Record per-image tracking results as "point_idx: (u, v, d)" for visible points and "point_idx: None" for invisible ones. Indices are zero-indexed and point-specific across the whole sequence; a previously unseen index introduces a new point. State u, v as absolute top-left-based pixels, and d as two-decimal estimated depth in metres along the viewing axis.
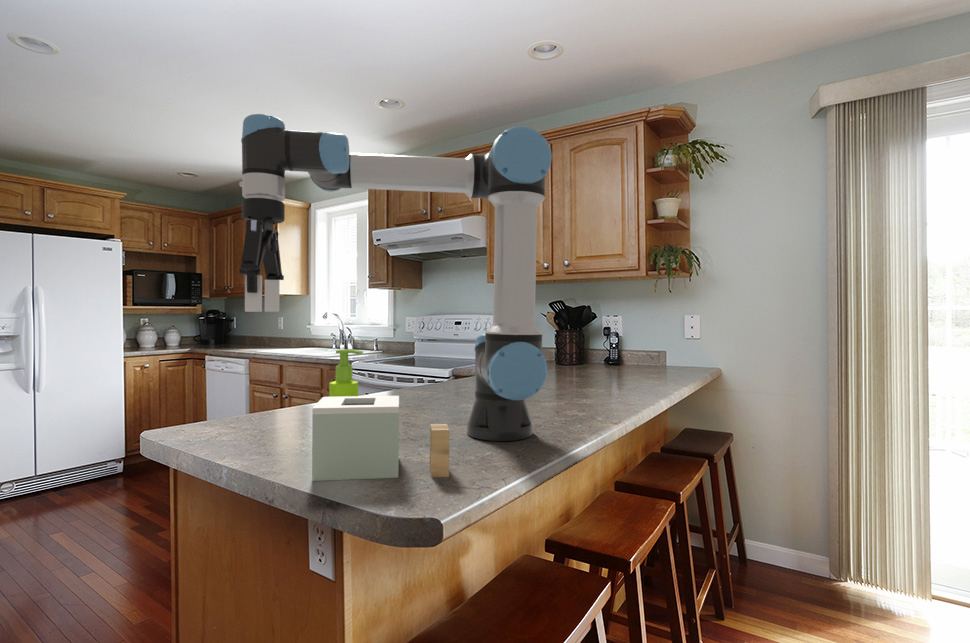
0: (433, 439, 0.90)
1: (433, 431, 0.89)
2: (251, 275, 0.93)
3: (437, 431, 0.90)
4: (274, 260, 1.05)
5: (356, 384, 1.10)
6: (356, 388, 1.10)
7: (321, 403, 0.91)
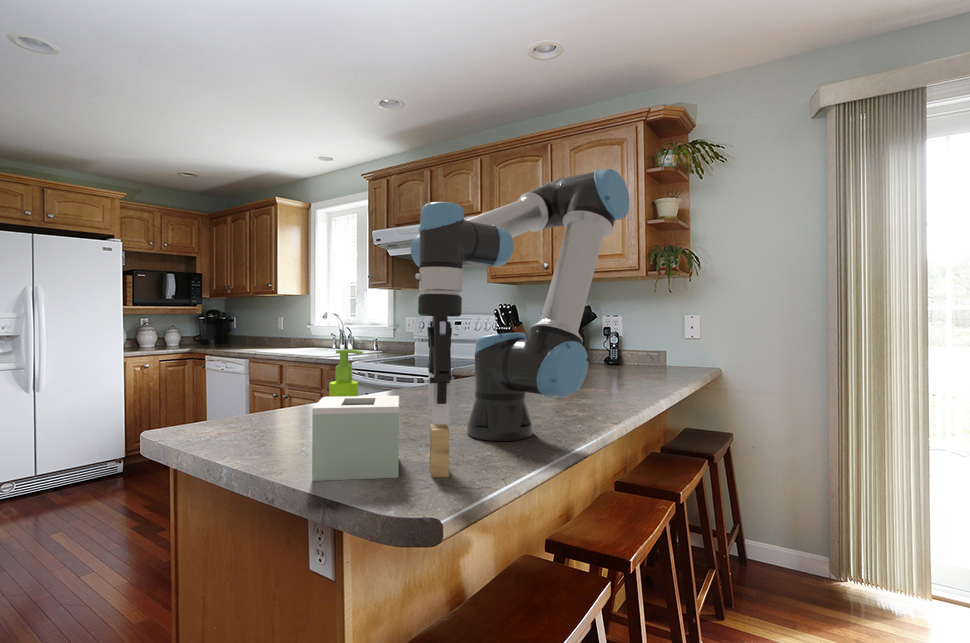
0: (433, 439, 0.90)
1: (433, 431, 0.89)
2: (442, 385, 0.84)
3: (437, 431, 0.90)
4: None
5: (356, 384, 1.10)
6: (356, 388, 1.10)
7: (321, 403, 0.91)
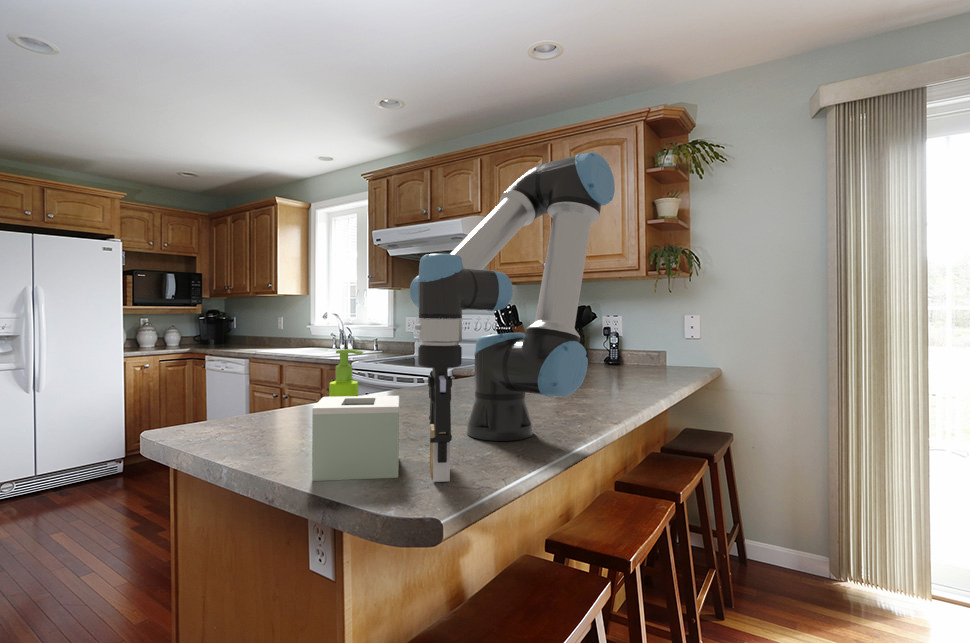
0: None
1: (433, 431, 0.89)
2: (442, 444, 0.85)
3: None
4: None
5: (356, 384, 1.10)
6: (356, 388, 1.10)
7: (321, 403, 0.91)
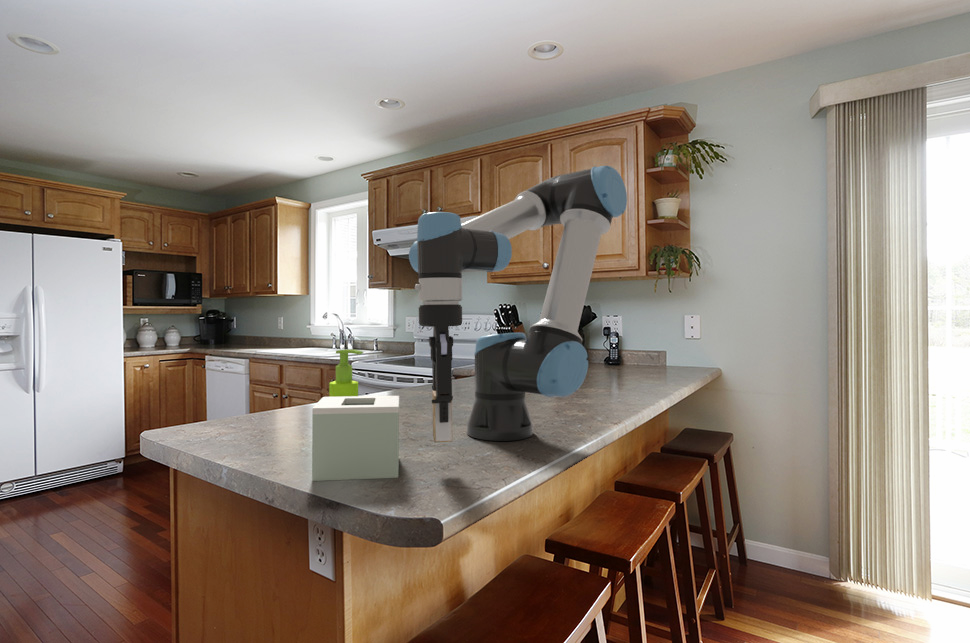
0: None
1: (435, 396, 0.90)
2: (444, 405, 0.88)
3: None
4: None
5: (356, 384, 1.10)
6: (356, 388, 1.10)
7: (321, 403, 0.91)
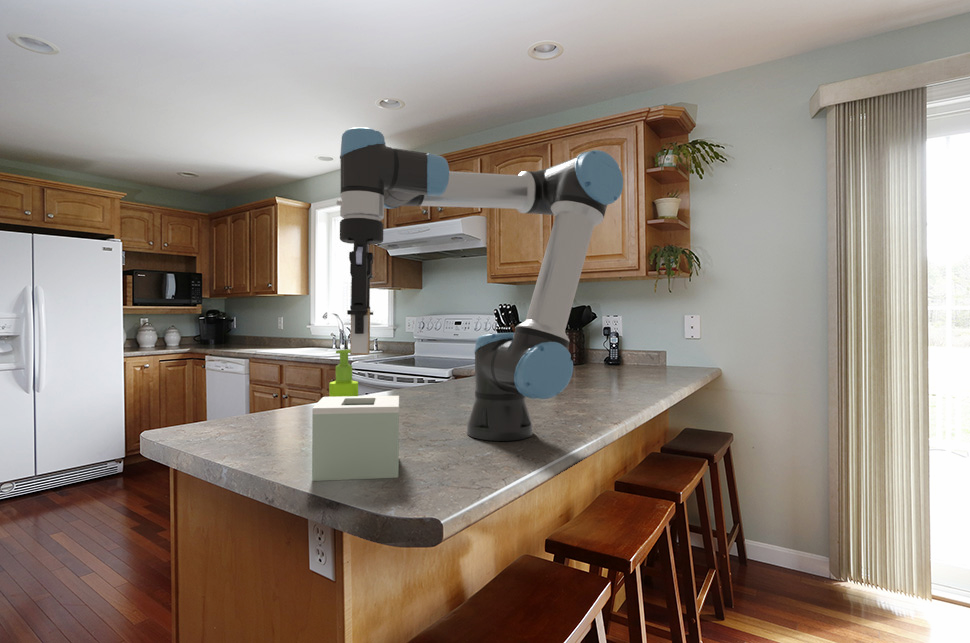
0: None
1: None
2: (359, 316, 0.89)
3: None
4: (367, 288, 0.96)
5: (356, 384, 1.10)
6: (356, 388, 1.10)
7: (321, 403, 0.91)
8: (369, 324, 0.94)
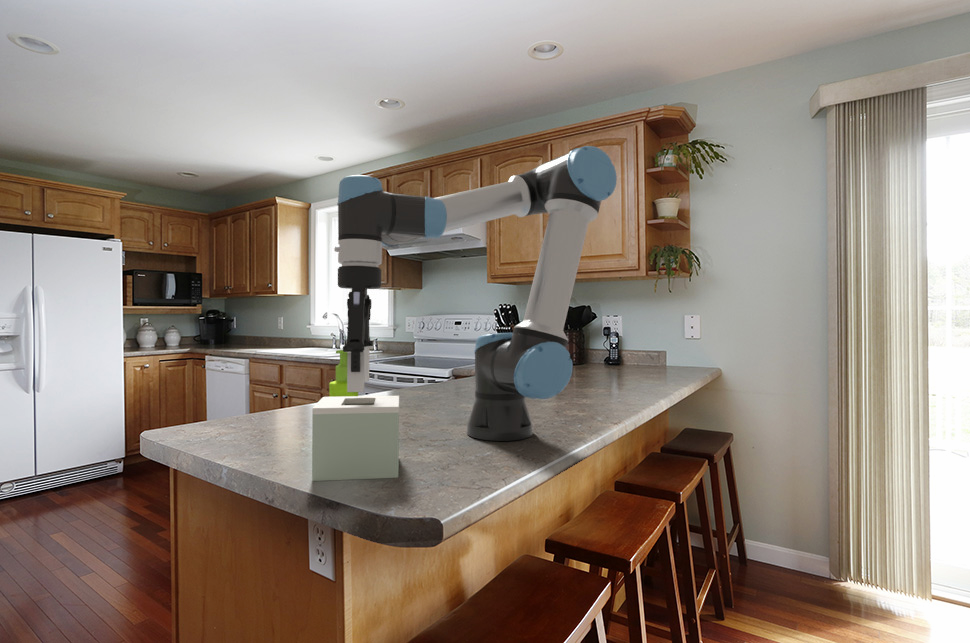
0: None
1: None
2: (355, 353, 0.85)
3: None
4: (366, 327, 0.98)
5: None
6: None
7: (321, 403, 0.91)
8: None
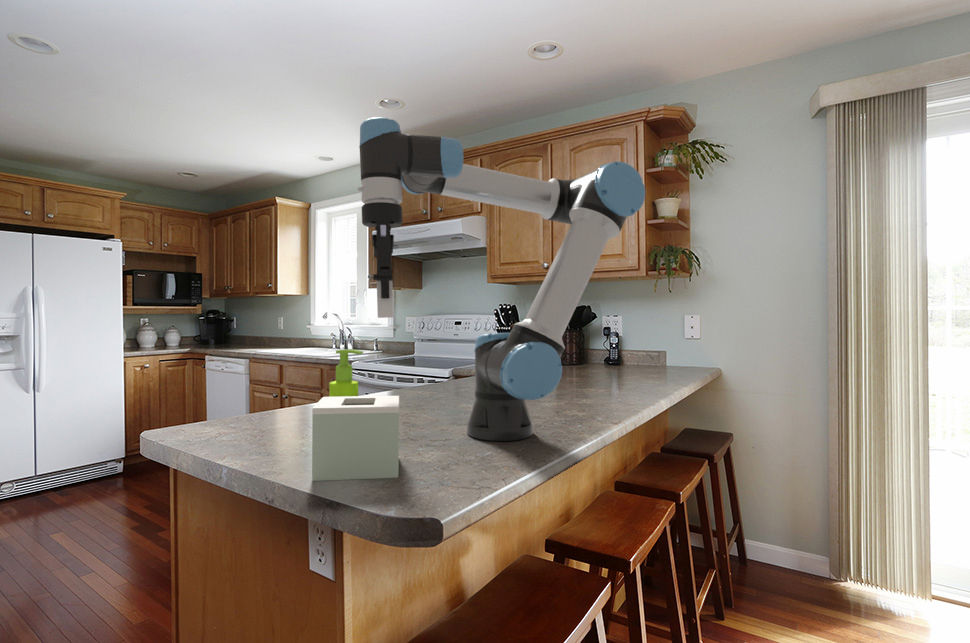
0: None
1: None
2: (385, 281, 0.92)
3: None
4: None
5: (356, 384, 1.10)
6: (356, 388, 1.10)
7: (321, 403, 0.91)
8: None
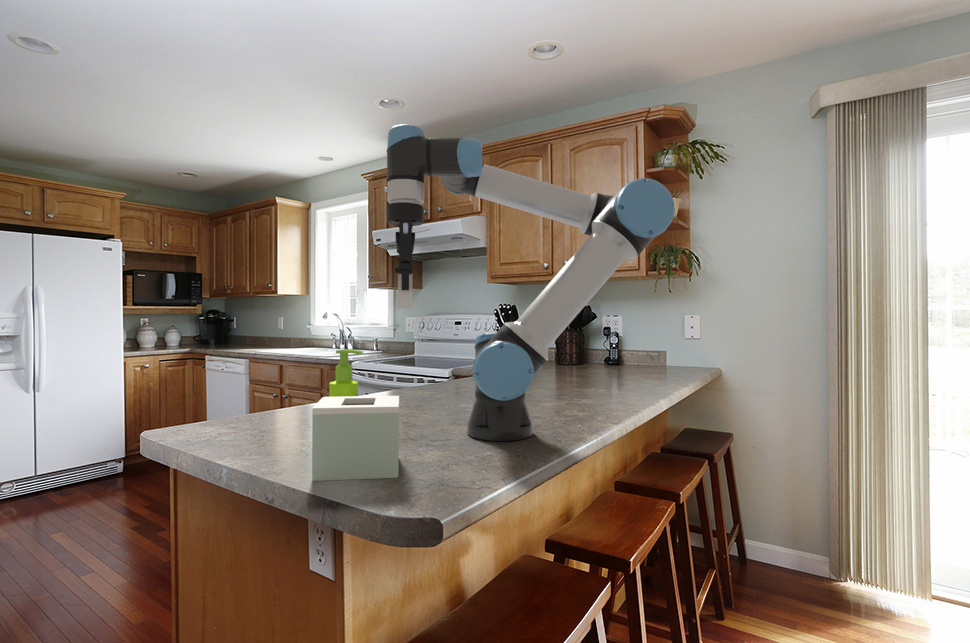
0: None
1: None
2: (405, 274, 1.00)
3: None
4: None
5: (356, 384, 1.10)
6: (356, 388, 1.10)
7: (321, 403, 0.91)
8: None
